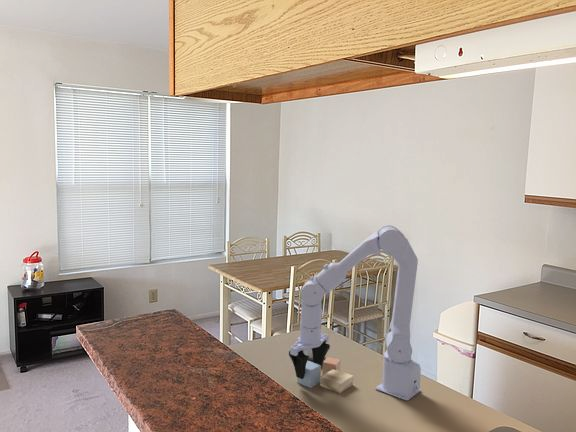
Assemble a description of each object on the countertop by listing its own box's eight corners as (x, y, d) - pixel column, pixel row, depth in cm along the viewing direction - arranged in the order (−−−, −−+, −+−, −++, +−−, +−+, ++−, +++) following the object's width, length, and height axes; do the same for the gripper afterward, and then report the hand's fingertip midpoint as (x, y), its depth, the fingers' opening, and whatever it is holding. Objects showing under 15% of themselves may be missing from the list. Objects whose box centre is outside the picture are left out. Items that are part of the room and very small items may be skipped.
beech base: (352, 386, 132) (353, 375, 132) (340, 394, 127) (340, 383, 127) (333, 379, 136) (333, 368, 136) (320, 387, 131) (320, 376, 131)
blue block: (320, 382, 133) (320, 365, 132) (310, 388, 130) (310, 370, 129) (307, 377, 136) (307, 360, 135) (297, 382, 132) (297, 365, 132)
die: (330, 358, 151) (319, 329, 155) (331, 354, 143) (319, 324, 147) (306, 367, 151) (295, 338, 155) (305, 364, 143) (294, 333, 147)
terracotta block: (339, 372, 140) (340, 359, 139) (335, 378, 136) (336, 364, 136) (326, 370, 141) (327, 357, 141) (322, 375, 138) (322, 362, 137)
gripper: (315, 315, 139) (313, 361, 141) (282, 327, 128) (280, 376, 130) (335, 321, 134) (333, 368, 136) (302, 334, 123) (300, 385, 125)
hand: (308, 373), depth 132 cm, fingers open, 7 cm apart
